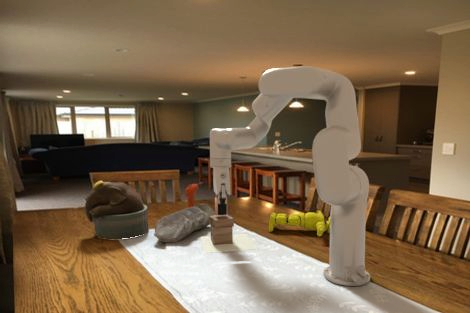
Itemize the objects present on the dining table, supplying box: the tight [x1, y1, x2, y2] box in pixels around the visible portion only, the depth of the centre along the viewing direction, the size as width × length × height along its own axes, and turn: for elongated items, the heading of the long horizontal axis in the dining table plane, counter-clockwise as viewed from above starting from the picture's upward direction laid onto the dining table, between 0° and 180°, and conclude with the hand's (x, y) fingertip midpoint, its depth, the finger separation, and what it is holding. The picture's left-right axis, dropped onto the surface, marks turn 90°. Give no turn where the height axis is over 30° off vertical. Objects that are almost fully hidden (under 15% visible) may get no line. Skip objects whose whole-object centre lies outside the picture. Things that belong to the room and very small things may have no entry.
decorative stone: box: [153, 203, 215, 244], centre depth 146 cm, size 32×15×10 cm, turn 156°
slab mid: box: [210, 225, 234, 237], centre depth 134 cm, size 7×7×3 cm
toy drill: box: [184, 181, 203, 208], centre depth 184 cm, size 5×19×15 cm, turn 162°
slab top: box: [209, 214, 235, 229], centre depth 134 cm, size 7×7×3 cm
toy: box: [268, 210, 330, 237], centre depth 149 cm, size 30×9×30 cm
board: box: [200, 233, 259, 254], centre depth 133 cm, size 18×18×1 cm
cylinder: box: [214, 196, 228, 216], centre depth 133 cm, size 4×4×6 cm
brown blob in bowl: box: [84, 180, 150, 239], centre depth 148 cm, size 23×25×22 cm
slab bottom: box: [210, 232, 234, 245], centre depth 134 cm, size 7×7×3 cm
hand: (221, 212), depth 133 cm, fingers closed on cylinder, 4 cm apart
